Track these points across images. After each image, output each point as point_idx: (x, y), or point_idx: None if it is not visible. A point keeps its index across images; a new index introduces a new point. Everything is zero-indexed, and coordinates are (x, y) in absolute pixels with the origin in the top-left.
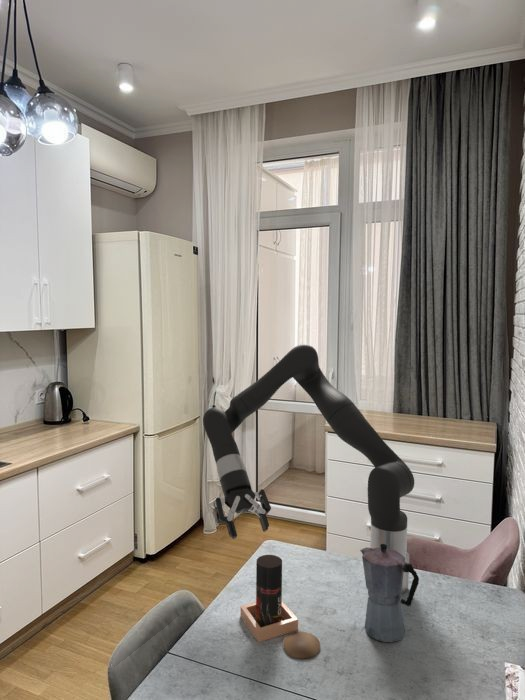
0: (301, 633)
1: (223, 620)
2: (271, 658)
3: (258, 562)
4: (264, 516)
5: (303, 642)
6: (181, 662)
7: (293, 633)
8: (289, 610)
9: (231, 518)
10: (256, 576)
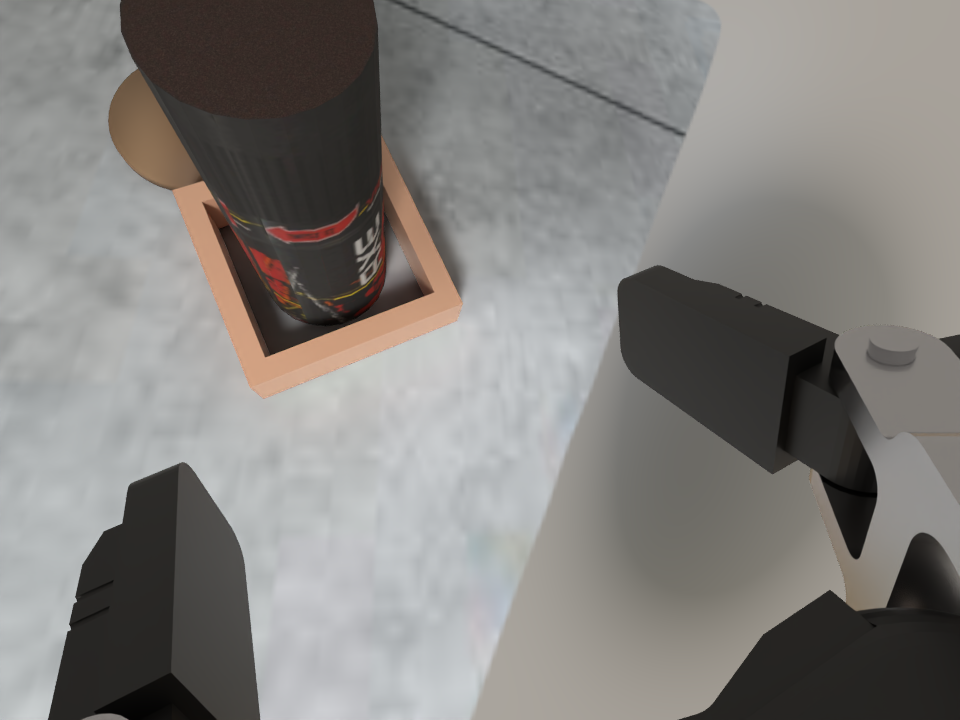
0: (180, 172)
1: (531, 298)
2: None
3: (360, 8)
4: (102, 664)
5: None
6: (646, 96)
7: None
8: (204, 258)
9: (858, 368)
10: (380, 116)
